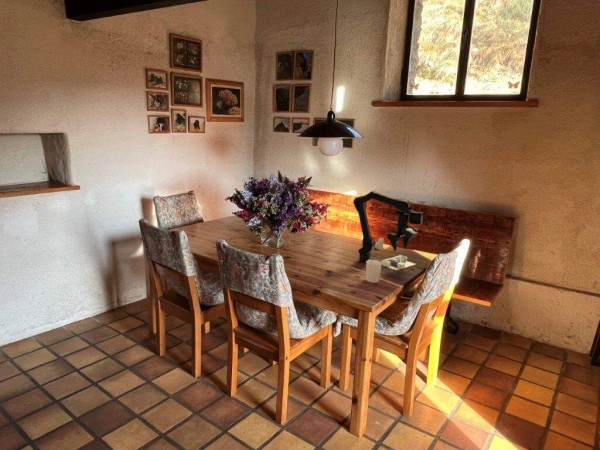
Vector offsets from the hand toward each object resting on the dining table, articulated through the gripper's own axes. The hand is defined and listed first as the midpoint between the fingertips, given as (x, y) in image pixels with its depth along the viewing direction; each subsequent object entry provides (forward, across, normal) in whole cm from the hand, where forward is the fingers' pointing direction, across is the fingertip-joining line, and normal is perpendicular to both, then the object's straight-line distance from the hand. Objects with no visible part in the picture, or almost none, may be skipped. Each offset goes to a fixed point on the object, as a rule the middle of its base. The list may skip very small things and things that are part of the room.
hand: (400, 249), depth 239 cm
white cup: (+12, -26, -3) cm, 29 cm away
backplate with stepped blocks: (+11, +4, +3) cm, 12 cm away
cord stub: (+10, 0, +2) cm, 11 cm away
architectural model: (+12, +22, +32) cm, 41 cm away
